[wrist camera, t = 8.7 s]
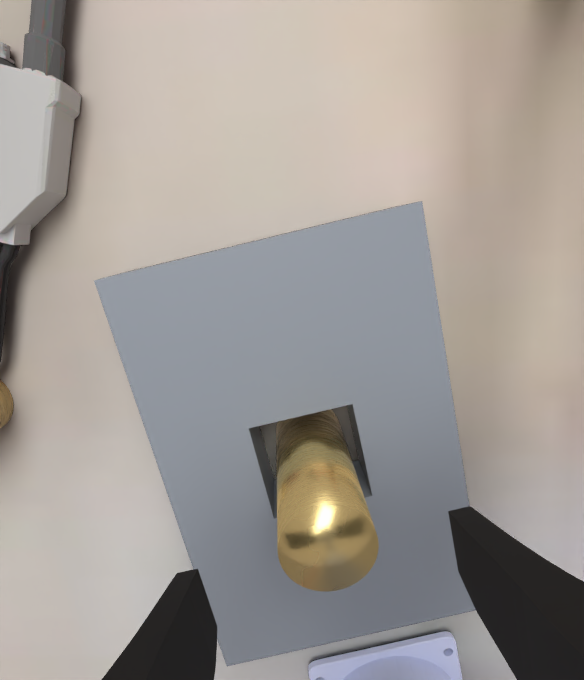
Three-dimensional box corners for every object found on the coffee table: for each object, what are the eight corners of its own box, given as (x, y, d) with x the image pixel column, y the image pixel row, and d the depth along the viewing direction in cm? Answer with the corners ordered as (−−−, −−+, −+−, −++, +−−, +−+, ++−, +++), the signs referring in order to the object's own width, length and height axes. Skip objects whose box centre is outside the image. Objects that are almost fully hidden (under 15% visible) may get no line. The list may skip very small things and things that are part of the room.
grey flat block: (458, 560, 23) (485, 608, 20) (232, 611, 23) (226, 666, 20) (398, 206, 19) (421, 201, 16) (122, 272, 19) (94, 280, 16)
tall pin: (343, 454, 21) (383, 583, 13) (281, 464, 21) (286, 598, 13) (335, 396, 20) (373, 496, 13) (271, 406, 20) (269, 513, 13)
